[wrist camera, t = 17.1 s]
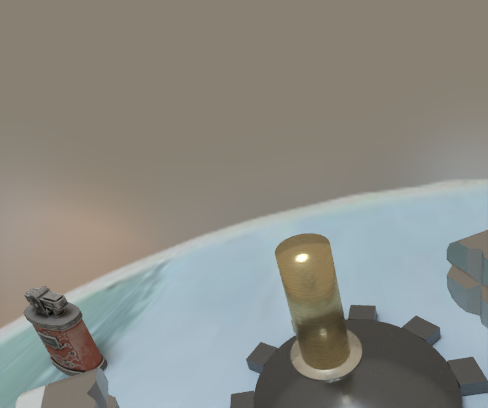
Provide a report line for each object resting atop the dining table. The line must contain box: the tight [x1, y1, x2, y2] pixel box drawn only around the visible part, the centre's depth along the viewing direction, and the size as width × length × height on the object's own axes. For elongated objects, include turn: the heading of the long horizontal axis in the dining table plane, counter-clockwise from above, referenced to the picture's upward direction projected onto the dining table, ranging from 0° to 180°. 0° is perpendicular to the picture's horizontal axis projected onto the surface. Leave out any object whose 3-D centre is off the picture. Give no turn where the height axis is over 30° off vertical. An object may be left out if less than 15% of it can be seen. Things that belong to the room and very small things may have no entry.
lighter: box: [24, 286, 107, 376], centre depth 45 cm, size 8×3×10 cm, turn 59°
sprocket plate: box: [230, 305, 488, 408], centre depth 34 cm, size 20×20×1 cm
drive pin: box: [275, 234, 351, 370], centre depth 36 cm, size 4×4×11 cm
